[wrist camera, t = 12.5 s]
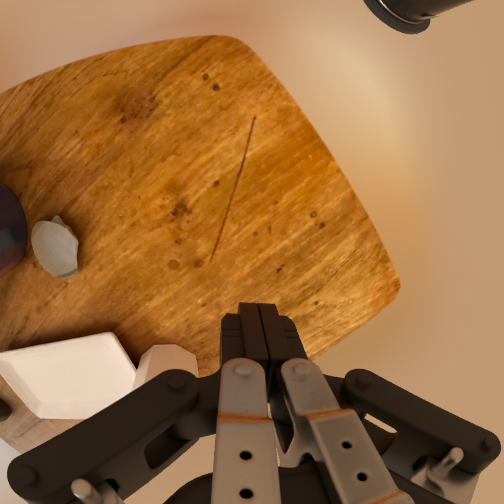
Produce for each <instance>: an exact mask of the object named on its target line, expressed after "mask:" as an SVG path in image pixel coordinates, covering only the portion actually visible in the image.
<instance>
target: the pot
mask: <svg viewBox="0 0 504 504" xmlns="http://www.w3.org/2000/svg"><path fill="white" fill-rule="evenodd" d="M0 245H1V256H2V261H1V271H0V278H1V277H2V276H4V275H5V274H6V273H8V272H9V271H10V270H12V269H13V268H14V267H16V266H17V265H18V263H19V262H20V261H21V260H22V258H23V256H24V253H25V250H26V245H27V225H26V219H25V215H24V212H23V209H22V206H21V204H20V202H19V200H18V198H17V196H16V195H15V194H14V192H13V191H12V190H11V189H10V188H9V187H7V186H6V185H4V184H2V183H0Z"/></svg>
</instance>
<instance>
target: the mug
mask: <svg viewBox="0 0 504 504" xmlns="http://www.w3.org/2000/svg"><path fill="white" fill-rule="evenodd" d="M170 369H182V370H186V371H189V372H191V373H192V374H194V375H195V376H196V377H197V378H198V374H199V373H198V366H197V360H196V355H194V354H192V353H190V352H189V351H187V350H185V349H183V348H182V347H180V346H178V345H176V344H167V345H153V346H152V347H151V348H150V349H149V350H147V351H146V352H145V353H144V354H143V355H142V356H141V359H140V362H139V365H138V369H137V372H136V376H135V379H134V383H133V386H132V390H131V392H132V391H133V390H135V389H137V388H138V387H140V386H141V385H143V384H144V383H146V382H148V381H149V380H151V379H152V378H154V377H155V376H157V375H158V374H160V373H162V372H163V371H166V370H170Z"/></svg>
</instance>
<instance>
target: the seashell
mask: <svg viewBox="0 0 504 504" xmlns="http://www.w3.org/2000/svg"><path fill="white" fill-rule="evenodd" d="M31 241H32V243H31V244H32V247H33V251H34V254H35V256H36V259H37V260H38V261H39V264H40V265H41V266H42V267H43V269H45V270H46V271H47V272H49V273H50V274H51V275H54V276H55V277H57V278H60V279H68V278H71V277H73V276H74V275H75V274H76V272H77V267H78V265H77V250H78V239H77V237H76V236H75V235H74V234H73V231H72V229H71V228H70V227H69V226H68V225H65V224H64V223H63V221H62V220H61V219H60V217H59V216H58V215H56V216H55V217H53V219H52V220H48V221H44V220H42V221H38V222H36V224H35V225H34V226H33V229H32V231H31Z"/></svg>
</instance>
